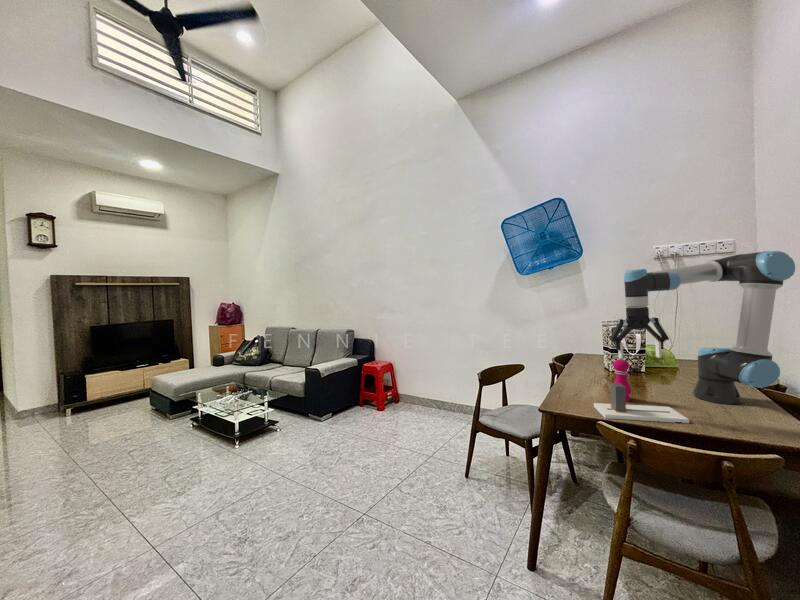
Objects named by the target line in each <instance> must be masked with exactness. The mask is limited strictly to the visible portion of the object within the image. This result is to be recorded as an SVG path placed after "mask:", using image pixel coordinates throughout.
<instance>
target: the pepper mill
mask: <svg viewBox="0 0 800 600" xmlns="http://www.w3.org/2000/svg"><path fill="white" fill-rule="evenodd" d="M612 364H613V365H612V366H613V368H614V373H615V380H614V382H613V383H620V384H622V385H623V386H625V389H626V402H630V401H631V396H630V395H631V394H632V388H631V386H630V384H629V382H628V379H627V377H628V374H629V372H628V370H629V368H630V364H629V362H628V361H626V360H625V359H624V358H623V359H621V358H619V357H618V359H616V360H614V361H613V363H612Z"/></svg>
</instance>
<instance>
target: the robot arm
mask: <svg viewBox="0 0 800 600" xmlns="http://www.w3.org/2000/svg"><path fill="white" fill-rule="evenodd" d="M795 271H796V262H795V261H794V259H793V257H790V255H789V254H787V253H786V252H784V251H781V250H780V251H779V250H771V251H770V250H767V251H765V250H764V251H758V252H757V251H756V252H750V253H741V254H734V255H730V256H727V257H723V258H718V259H713V260H708V261H706V262H705V263H702V264H695V265H688V266H683V267H675V268H669V269H664V270H663V269H662V270H657V271H649V272H648V271H647V269H646V268H640V269H638V268H637V269H629V270H625V272H624V275H623V276H624V277H623V282H624V295H625V306H626V308H625V314H626V315H625V318H624V319H622V318H618V319H617V324H616V326H615V328H614V330H613V331H612V334H611V336H610V338H609V340H610V341H611V342H614V344H615V350H616V351H618V354H617V355H618V359H619V358H621V359H623V360H624V346H623V345H624V344H623V342H622V341H623V340H624V339H625V338H626V336H628V335H629V333H630V332H631V331H632V330H646V331H647V332H648V333H649V334H650V335H651V336H652V337H653V338H654V339H656V340H654V344H655V345H654V347H655V349H654V350H655V358H657V359H658V358H660V359H662V355H663V354H662V350H664V349H665V348H664V347H665V346H664V343H665V342H666V341H669V340H670V338H669V336H668V335H667V333H666V331H665V329H664V328H663V327H662V325H661V324H660V321H659V318H658V317H655V316H654V317H653V316H652V317H650V311H649V309H650V308H649V307H648V306H649V292H661V291H662V292H663V291H673V290H676V289H678V288H679V287H680V285H688V284H692V283H693V284H694V283H698V282H699V283H701V282H711V283H715V282H716V283H717V282H739V283H738V285H739V286H740V287H742V289H743V293H742V299H741V300H742V301H741V307H740V312H739V313H740V314H739V315H740V316H739V321H738V327H737V328H738V329H737V333H736V334H737V336H736V343H735V345H734V346H733V347H731V348H730V347H701V348H699V349H698V351H697V352H698V353H697V374H698V375H697V376H698V377H697V380H696V381H697V382H696V384H695V386H694V388H693V390H692V395H693V396H694V397H695V398H697V399H699V400H703V401H706V402H712V403H715V404H723V405H738V404H740V403H741V402H742V401H741V400H742V398H741V395H740V393H739V391H738V387H737V386H736V384H735V383H740V384H743V385H744V386H748V387H753V388H766V387H770V386H771V385H772V384H775V383H776V382H777V381H778V380H779V378H780V374H781V369H780V366H779V365H778V364H777V362H775V361H773V354H772V353H771V352H770V351H769V350H768V348H769V340H770V333H771V327H772V320H773V315H774V314H773V313H774V307H775V299H776V293H777V290H778V289H780V288H782V287H784V281H786V280H789V279H790V278H791V277H792V276H794V275H795V273H796V272H795ZM625 323H626V324H627V325H626V326H625V327H624V329H623V330H622V328H623V325H625ZM650 323H651V324H653V326H654V328H655V329H656V331H657V332H656V331H655V330H654V329H653V328H652V327H651V326H650V325H649V324H650ZM621 330H622V331H621Z"/></svg>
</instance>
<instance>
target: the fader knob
mask: <svg viewBox="0 0 800 600" xmlns="http://www.w3.org/2000/svg"><path fill="white" fill-rule="evenodd" d="M626 403H627V401H626V389H625V386H623V385H622V384H620V383H614V382H611V383H610V404H611V407H612V408H613V409H614V410H616V411H626V405H627V404H626Z"/></svg>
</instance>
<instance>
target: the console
mask: <svg viewBox="0 0 800 600" xmlns="http://www.w3.org/2000/svg"><path fill="white" fill-rule="evenodd" d="M593 407H594V408H595V409H596V410H597V412H598V413H599V414H600V415H601V416H602V417H603V418H604V419H609V420H610V419H611V420H628V421H644V422H645V421H646V422H658V421H659V422H663V423H675V422H682V423H681V424H690V419H689V418H688V417H686V416H684V415H683V414H681V413H680V412H679V411H676V409H674V408H672V407H670V406H662V405H661V406H659V405H641V404H626V411H616V410H614V409H613V408H612V407H611V403H599V402H594V403H593ZM659 422H658V423H659Z"/></svg>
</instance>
